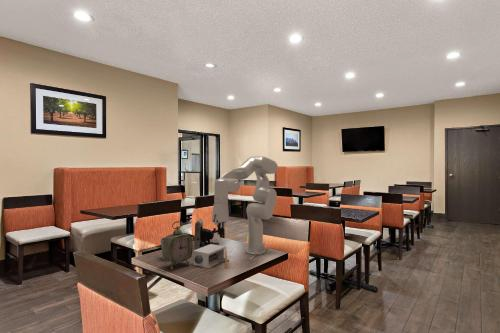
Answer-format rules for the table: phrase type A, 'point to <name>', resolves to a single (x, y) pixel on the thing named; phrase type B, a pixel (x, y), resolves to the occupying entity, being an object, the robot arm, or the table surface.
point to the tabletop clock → (177, 246)
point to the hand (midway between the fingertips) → (220, 234)
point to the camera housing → (208, 256)
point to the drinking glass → (162, 248)
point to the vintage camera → (202, 235)
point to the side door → (226, 258)
